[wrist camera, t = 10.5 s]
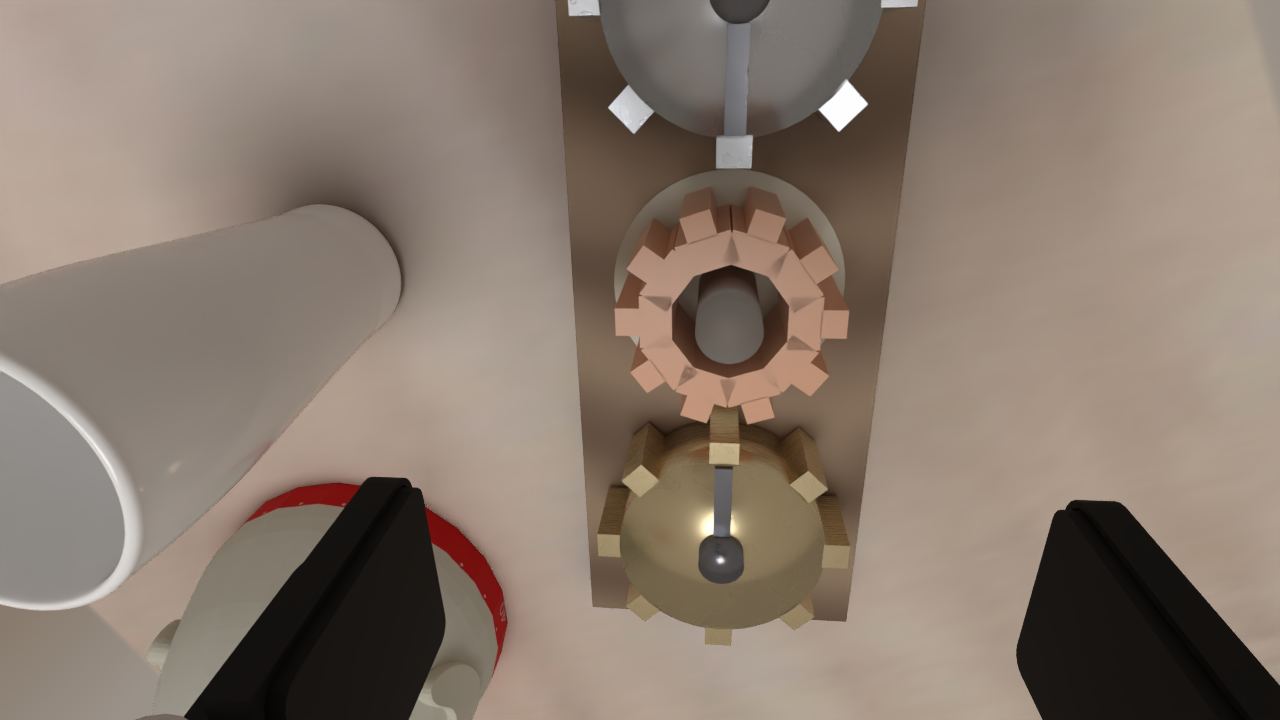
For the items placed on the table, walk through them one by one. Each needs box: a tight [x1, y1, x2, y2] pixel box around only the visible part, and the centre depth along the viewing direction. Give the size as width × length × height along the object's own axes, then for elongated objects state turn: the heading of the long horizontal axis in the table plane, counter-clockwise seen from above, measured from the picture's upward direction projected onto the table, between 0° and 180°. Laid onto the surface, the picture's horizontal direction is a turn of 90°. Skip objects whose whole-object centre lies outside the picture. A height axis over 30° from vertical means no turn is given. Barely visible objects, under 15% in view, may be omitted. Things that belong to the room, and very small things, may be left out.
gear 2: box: [597, 404, 850, 646], centre depth 26 cm, size 9×9×4 cm
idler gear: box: [615, 186, 849, 424], centre depth 23 cm, size 7×7×4 cm
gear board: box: [556, 0, 926, 622], centre depth 23 cm, size 30×11×6 cm, turn 1°
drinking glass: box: [0, 204, 401, 611], centre depth 21 cm, size 7×7×15 cm
